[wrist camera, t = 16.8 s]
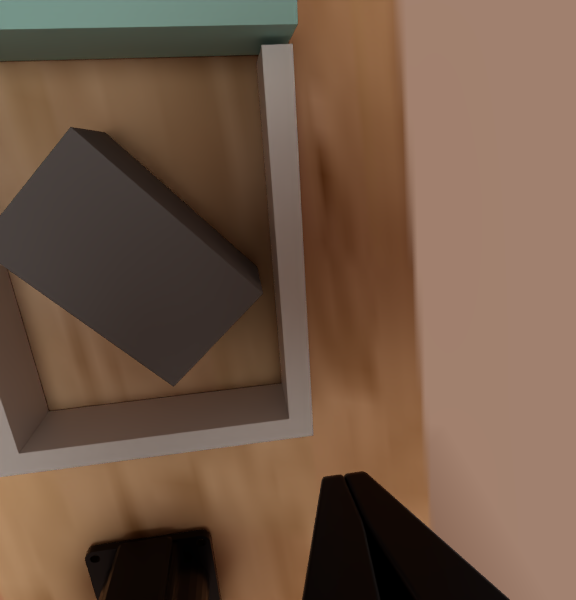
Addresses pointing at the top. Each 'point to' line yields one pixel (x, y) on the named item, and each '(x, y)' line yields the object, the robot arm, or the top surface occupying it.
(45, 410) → the frame
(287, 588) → the top surface
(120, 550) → the robot arm
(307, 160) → the top surface
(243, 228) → the top surface
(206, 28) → the bar
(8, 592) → the top surface
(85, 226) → the block
